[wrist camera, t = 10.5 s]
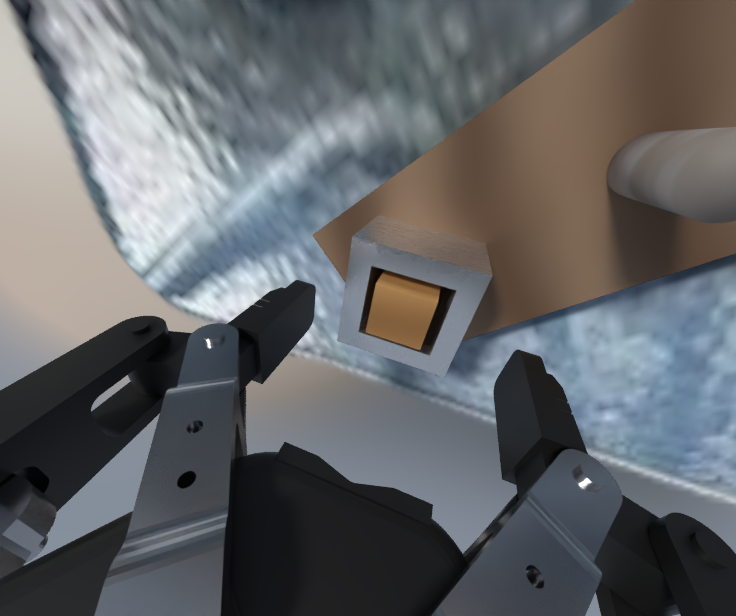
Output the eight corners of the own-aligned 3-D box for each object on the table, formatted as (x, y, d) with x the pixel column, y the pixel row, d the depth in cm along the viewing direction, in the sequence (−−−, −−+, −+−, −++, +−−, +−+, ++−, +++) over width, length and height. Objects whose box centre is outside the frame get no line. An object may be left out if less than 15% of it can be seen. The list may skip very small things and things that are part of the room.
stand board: (741, -75, 8) (1145, -391, 3) (781, 216, 11) (1033, 275, 6) (323, 228, 17) (267, 262, 12) (403, 347, 20) (384, 413, 15)
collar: (377, 215, 14) (352, 236, 11) (485, 243, 13) (492, 275, 10) (361, 303, 17) (337, 340, 14) (448, 330, 17) (444, 377, 13)
